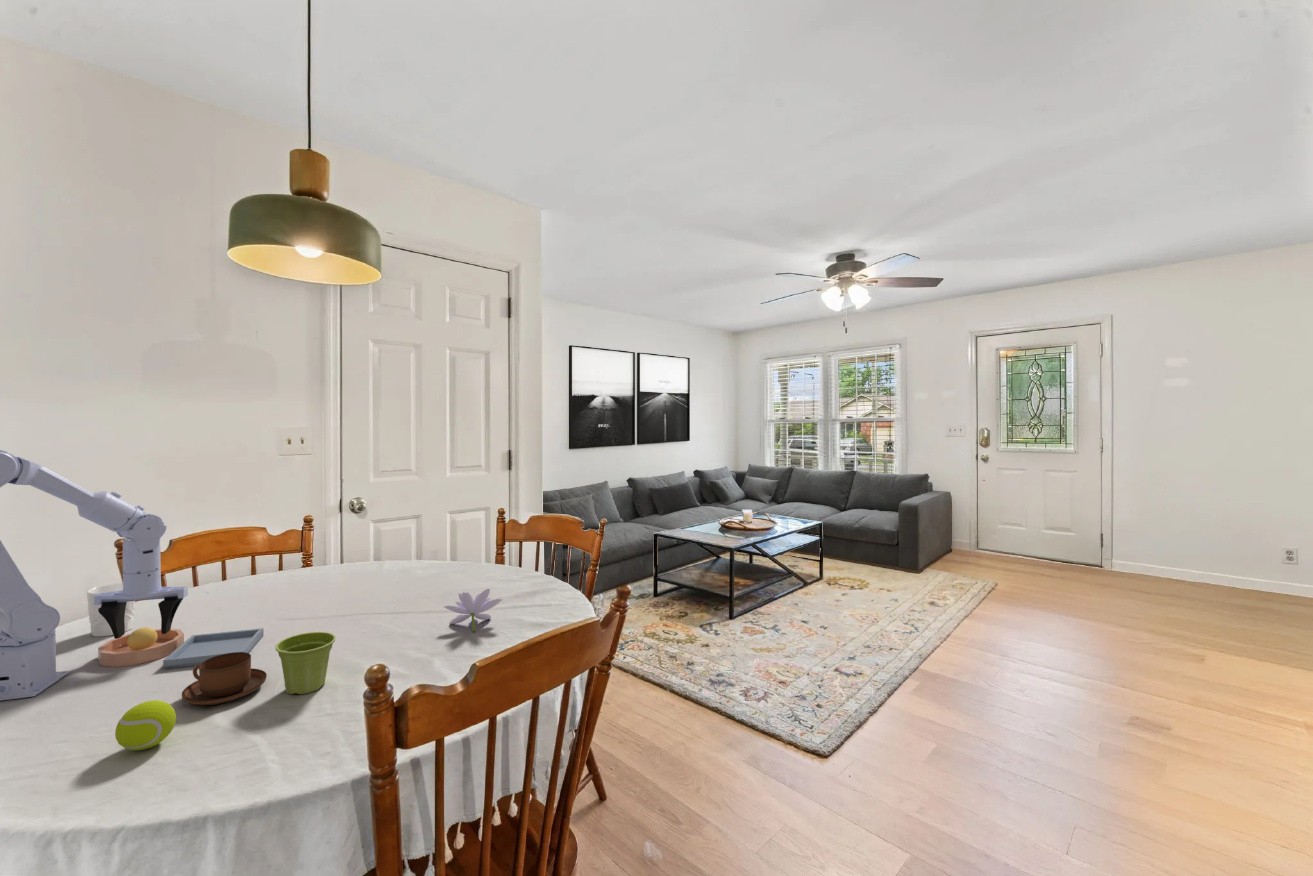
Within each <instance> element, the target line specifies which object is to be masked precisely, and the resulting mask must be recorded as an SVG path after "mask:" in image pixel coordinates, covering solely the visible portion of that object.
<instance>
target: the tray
mask: <svg viewBox="0 0 1313 876" xmlns="http://www.w3.org/2000/svg"><path fill="white" fill-rule="evenodd" d="M264 632H265V631H264V627H259V628H252V629H241V630H233V631H232V630H230V631H221V632H212V633H201V634H192V635H190V636H189V638H187V639H186V640H184V643H183V644H182V645H181V646H179V647H178V648H177V649H176V650H175V651H174V652H172V653H171V654H170V655H168V656H166V657H164V659H163V660H162V670H170V669H171V670H173V669H181V668H189V667H195V666H196V665H198V664H201V663H202V662H204V661H205V660H207V659H209V658H212V657H215V656H218V655H222V654H226V653H233V652H246V653H249V654H251V652H252V650H253V649H254V648H255V647H256V646H257V644H258V643H260V641H261V640H262V639H263V637H264Z"/></svg>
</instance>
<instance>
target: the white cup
mask: <svg viewBox="0 0 1313 876" xmlns="http://www.w3.org/2000/svg"><path fill="white" fill-rule="evenodd" d="M122 590H123V582H119V583H111V584H104V585H101V586H99V585H98V586H96V587H92V588H90V589H88V590H87V591H86V595H87V596H86V597H87V611H88V620H89V621H88V622H89V623H90V635H91V636H93V637H109V636H114V635H113V632H112V630H111V628H110V626H109V624H108V622H107V621H106V620H105V618H104V617H103V616H102V615H101V614H100V613H99V612H98V609H99V608H100V607H101V606H102V604H101V605H94V596H95V595H97V594H99V593H107V592H115V591H122ZM135 609H136V601H129V602H127V603H126V608H125V616H124V622H125V632H128V631H131V630H132V629H133V626H134V617H135V611H136V610H135ZM125 632H124V633H125Z"/></svg>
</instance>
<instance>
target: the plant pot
mask: <svg viewBox="0 0 1313 876" xmlns="http://www.w3.org/2000/svg"><path fill="white" fill-rule="evenodd" d="M336 638H337V637H336V635H335V634H334V633H332V632H327V631H312V632H311V631H310V632H304V633H299V634H296V635H295V634H294V635H292V636H288V637H286V638H284V639H282V640H280V641H279V642H277V643H276V645H275V646H274V648H275V651H276V652H277V655H278V657H279V658H280V663H281V667H282V674H283V681H284V687H285V692H286V693H287V694H289V695H293V694H299V695H306V694H309V693H313V692H315V691H317V690H319V689H321V687H322V686H325V683H326V678H327V672H328V666H329V661H330V660H329V658H330V653H331V650H332V648H333V644H334V643H335V641H336Z"/></svg>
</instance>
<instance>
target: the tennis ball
mask: <svg viewBox="0 0 1313 876" xmlns="http://www.w3.org/2000/svg"><path fill="white" fill-rule="evenodd" d="M176 720H177V714H176V710H175V709H174V707H172V705H171V704H169V703H168V702H166V701H163V700H157V699H156V700H155V699H154V700H148V701H147V700H146V701H143V702H141V703H138V704H137V705H134V706H133V707H131V708H130V709H128V710H127V711H126V712H125V713H124V714H123V715H122V716H121V718H120V719H119V720H118V722H117V724H116V727H115V733H114V735H115V740H116V742H117V743H118V745H119V746H121V747H122V748H124V749H125V750H127V751H143V750H144V751H145V750H147V749H150V748H152V747H155V746H156V745H158V744H159V743H161V742H162V741H164V740H165V739H166V738H168V736H170V734H171V732H172V730H174V727H175V725H176Z"/></svg>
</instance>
